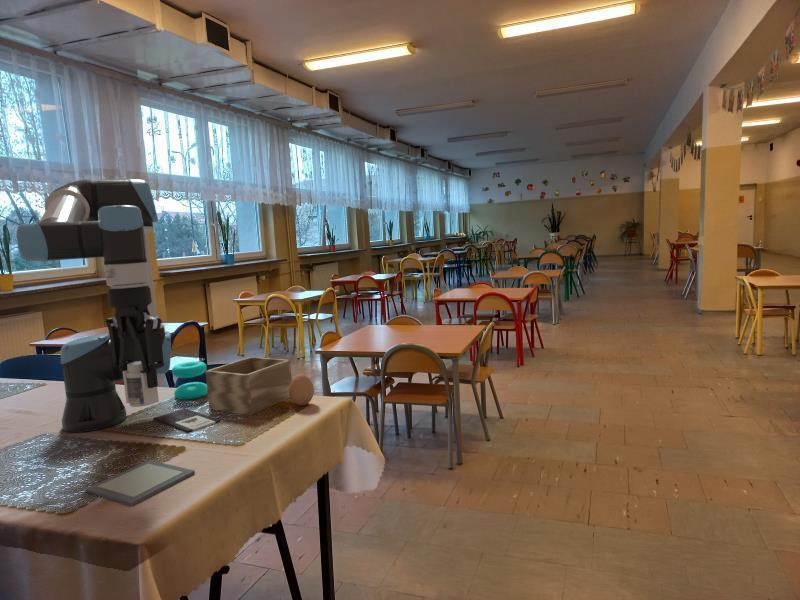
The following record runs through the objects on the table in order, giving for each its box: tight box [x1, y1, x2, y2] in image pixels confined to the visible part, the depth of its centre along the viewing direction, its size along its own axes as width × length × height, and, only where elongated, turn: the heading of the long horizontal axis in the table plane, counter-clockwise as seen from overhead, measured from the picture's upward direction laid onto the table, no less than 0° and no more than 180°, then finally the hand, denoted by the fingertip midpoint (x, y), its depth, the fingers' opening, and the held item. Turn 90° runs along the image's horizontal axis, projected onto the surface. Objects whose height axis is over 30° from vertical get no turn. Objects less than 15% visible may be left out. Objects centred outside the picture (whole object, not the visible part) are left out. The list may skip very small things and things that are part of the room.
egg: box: [289, 373, 315, 407], centre depth 148 cm, size 7×7×9 cm
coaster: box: [84, 459, 196, 506], centre depth 105 cm, size 14×14×1 cm
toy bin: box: [204, 356, 293, 416], centre depth 153 cm, size 16×18×11 cm
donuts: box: [171, 360, 208, 401], centre depth 164 cm, size 10×10×10 cm
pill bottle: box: [126, 361, 149, 408], centre depth 106 cm, size 5×5×8 cm
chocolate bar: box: [153, 408, 221, 434], centre depth 141 cm, size 9×1×18 cm
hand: (142, 402), depth 106 cm, fingers closed on pill bottle, 5 cm apart
